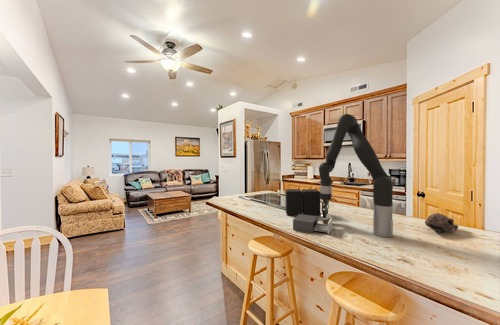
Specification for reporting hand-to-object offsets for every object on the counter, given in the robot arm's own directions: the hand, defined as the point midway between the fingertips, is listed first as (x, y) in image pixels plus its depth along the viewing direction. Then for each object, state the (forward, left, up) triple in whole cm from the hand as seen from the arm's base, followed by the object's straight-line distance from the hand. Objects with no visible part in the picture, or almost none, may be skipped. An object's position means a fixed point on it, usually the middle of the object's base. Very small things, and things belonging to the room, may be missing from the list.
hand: (325, 216), depth 144 cm
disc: (0, 0, -1) cm, 1 cm away
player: (+10, +14, -5) cm, 18 cm away
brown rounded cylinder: (0, 0, -5) cm, 5 cm away
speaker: (+20, -16, -5) cm, 26 cm away
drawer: (-1, +14, -4) cm, 15 cm away
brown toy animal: (-62, -14, -5) cm, 64 cm away
